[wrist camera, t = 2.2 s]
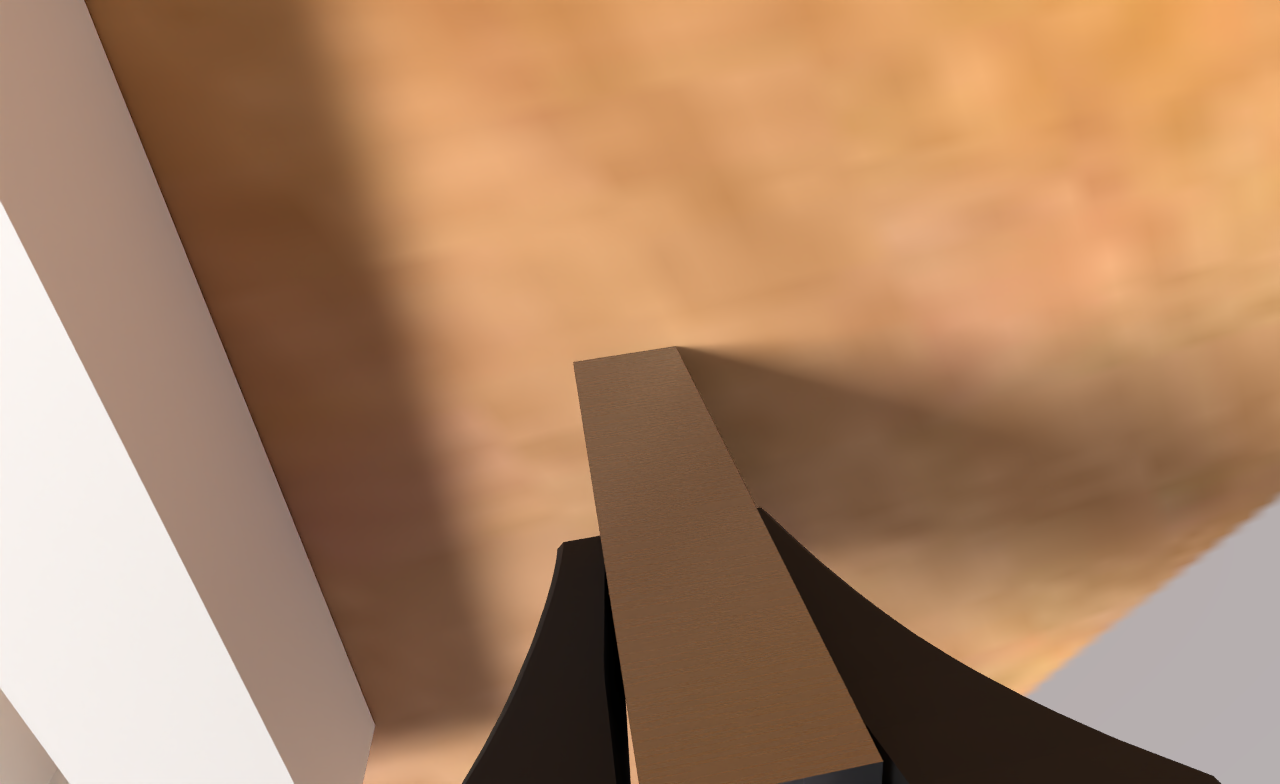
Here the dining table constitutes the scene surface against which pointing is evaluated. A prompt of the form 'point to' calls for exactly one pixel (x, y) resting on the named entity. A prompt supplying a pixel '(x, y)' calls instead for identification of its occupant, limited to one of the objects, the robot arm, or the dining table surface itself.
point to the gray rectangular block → (705, 597)
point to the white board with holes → (136, 475)
